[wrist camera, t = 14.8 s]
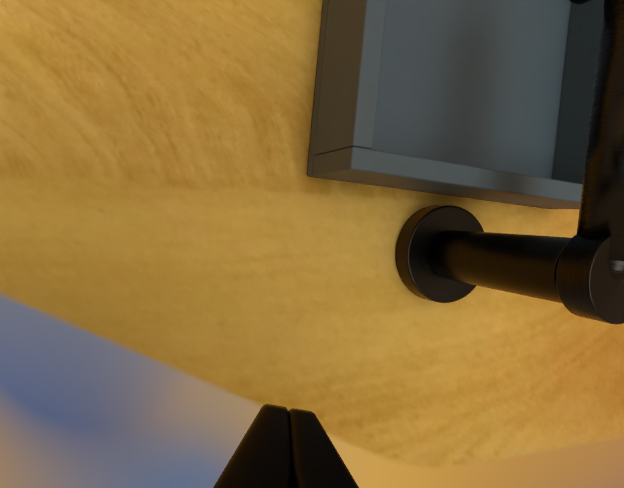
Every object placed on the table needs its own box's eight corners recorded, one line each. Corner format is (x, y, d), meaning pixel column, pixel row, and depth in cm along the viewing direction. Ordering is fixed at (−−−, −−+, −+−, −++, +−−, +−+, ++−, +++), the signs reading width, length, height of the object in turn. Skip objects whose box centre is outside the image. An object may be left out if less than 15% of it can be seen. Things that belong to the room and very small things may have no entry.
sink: (550, 209, 26) (625, 209, 23) (306, 176, 21) (350, 169, 17) (581, -79, 26) (663, -128, 22) (339, -185, 21) (392, -273, 17)
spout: (567, 307, 19) (658, 327, 16) (508, 305, 18) (593, 325, 15) (607, -31, 18) (707, -78, 15) (548, -55, 17) (644, -111, 14)
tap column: (452, 313, 24) (598, 357, 17) (380, 277, 23) (508, 310, 16) (486, 229, 25) (642, 238, 18) (418, 189, 23) (559, 180, 16)
